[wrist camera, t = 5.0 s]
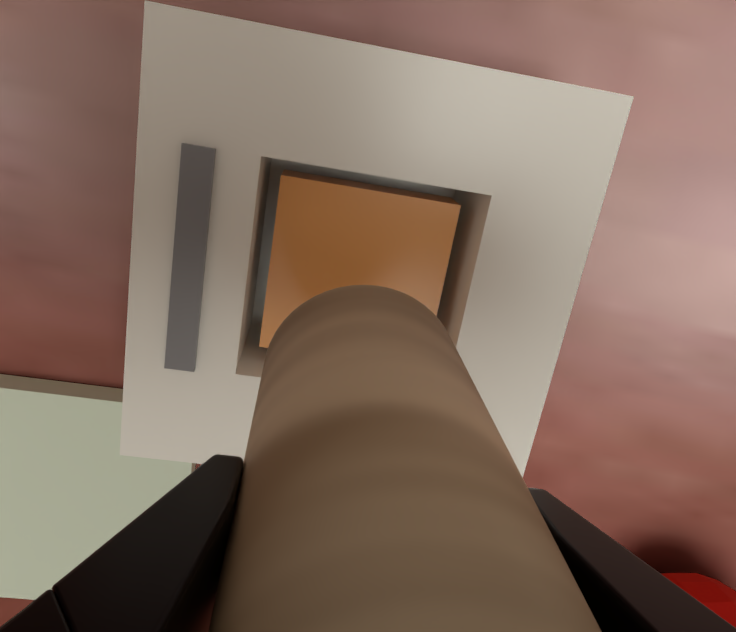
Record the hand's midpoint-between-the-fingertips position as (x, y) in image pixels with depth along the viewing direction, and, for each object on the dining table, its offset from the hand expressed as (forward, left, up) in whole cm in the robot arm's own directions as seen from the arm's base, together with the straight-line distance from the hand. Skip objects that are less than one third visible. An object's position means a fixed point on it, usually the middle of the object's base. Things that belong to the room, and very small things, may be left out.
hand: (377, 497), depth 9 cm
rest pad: (-10, +9, -13) cm, 19 cm away
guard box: (+1, 0, -13) cm, 13 cm away
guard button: (+1, 0, -11) cm, 11 cm away
